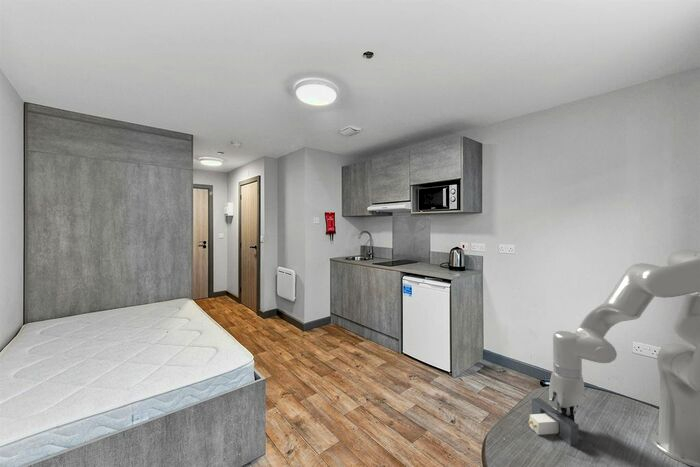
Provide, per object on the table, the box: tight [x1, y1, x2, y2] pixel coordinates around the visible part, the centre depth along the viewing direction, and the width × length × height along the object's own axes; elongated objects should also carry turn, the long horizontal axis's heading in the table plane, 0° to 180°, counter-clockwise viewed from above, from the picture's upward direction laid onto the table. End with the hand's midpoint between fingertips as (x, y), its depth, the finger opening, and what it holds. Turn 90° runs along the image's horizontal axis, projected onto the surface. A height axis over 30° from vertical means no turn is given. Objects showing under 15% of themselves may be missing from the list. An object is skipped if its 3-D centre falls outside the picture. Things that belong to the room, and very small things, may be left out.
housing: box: [531, 397, 579, 446], centre depth 94 cm, size 3×14×6 cm, turn 13°
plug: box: [528, 413, 560, 436], centre depth 94 cm, size 12×4×4 cm, turn 95°
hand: (567, 423), depth 95 cm, fingers closed
